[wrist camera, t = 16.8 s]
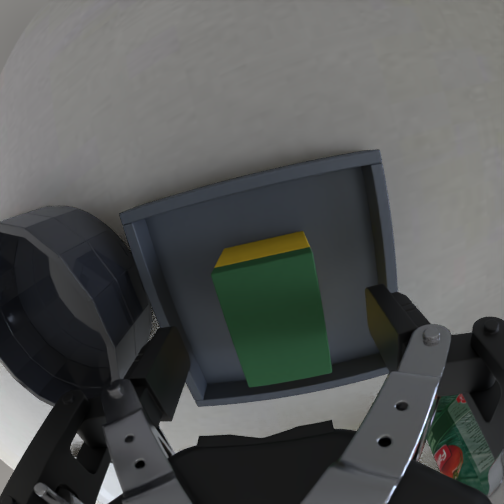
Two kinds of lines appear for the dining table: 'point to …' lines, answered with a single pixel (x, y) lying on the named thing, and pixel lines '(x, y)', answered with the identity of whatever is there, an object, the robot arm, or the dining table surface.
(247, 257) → the sponge
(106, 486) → the plate
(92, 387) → the black bowl
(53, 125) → the dining table surface
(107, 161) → the dining table surface
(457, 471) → the canned tomato
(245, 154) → the dining table surface
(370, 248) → the sponge dish
